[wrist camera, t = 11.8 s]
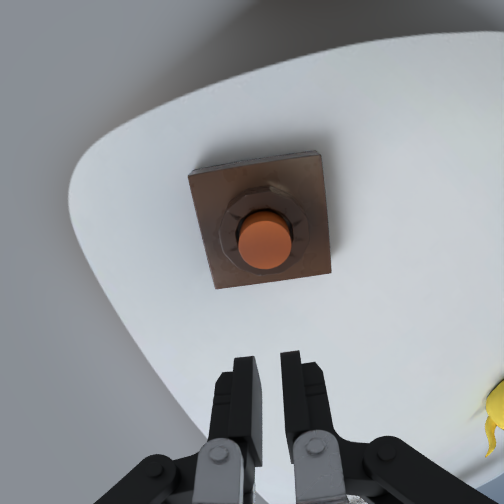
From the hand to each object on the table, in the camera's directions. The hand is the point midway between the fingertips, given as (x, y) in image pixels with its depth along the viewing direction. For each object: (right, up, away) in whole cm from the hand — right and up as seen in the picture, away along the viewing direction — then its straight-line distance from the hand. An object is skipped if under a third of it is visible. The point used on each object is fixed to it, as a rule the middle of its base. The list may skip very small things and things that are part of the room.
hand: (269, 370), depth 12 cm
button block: (0, +7, +15) cm, 17 cm away
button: (0, +6, +12) cm, 13 cm away
